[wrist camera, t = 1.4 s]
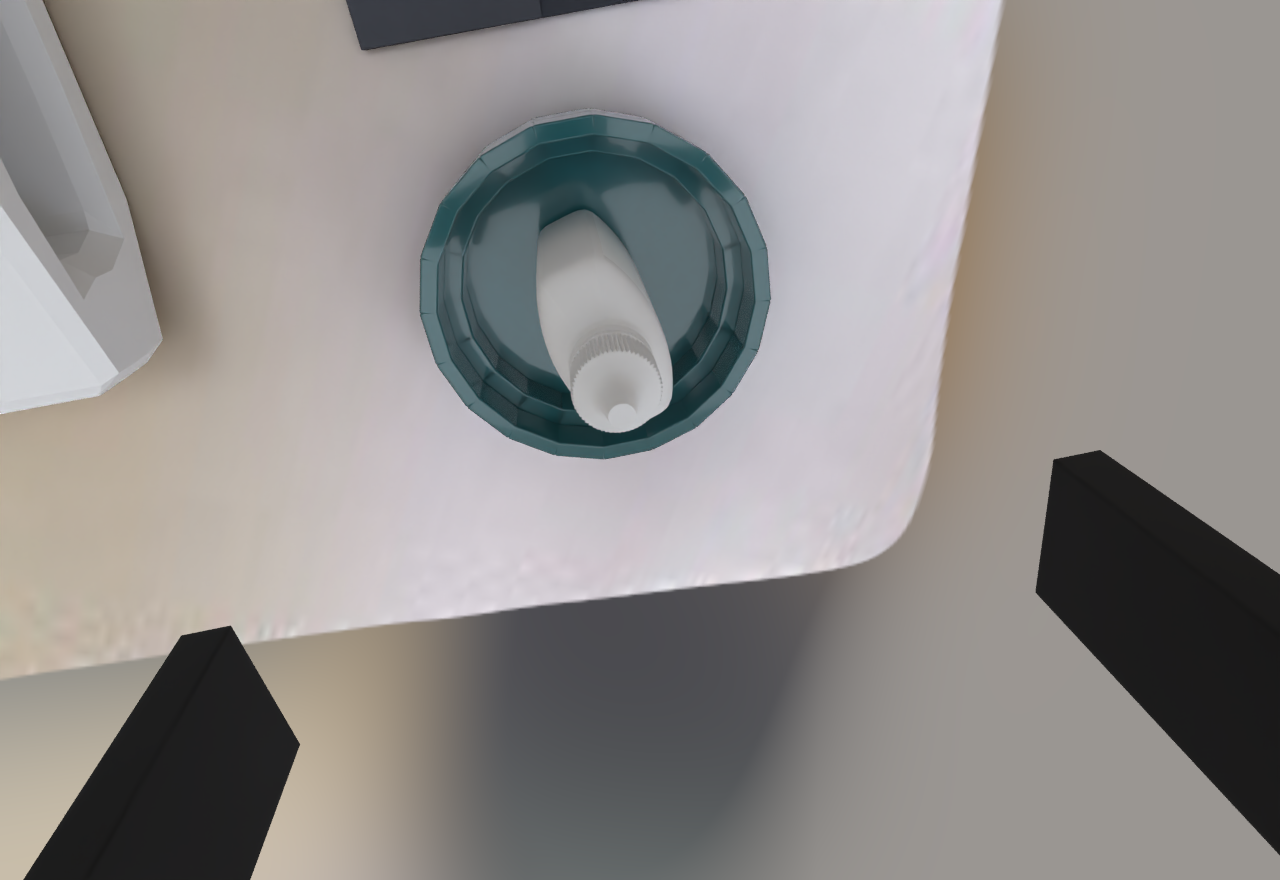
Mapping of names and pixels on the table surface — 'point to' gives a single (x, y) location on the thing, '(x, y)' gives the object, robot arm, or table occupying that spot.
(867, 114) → the table surface
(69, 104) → the document scanner
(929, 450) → the table surface
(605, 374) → the eye dropper bottle
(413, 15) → the napkin
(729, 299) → the bowl
